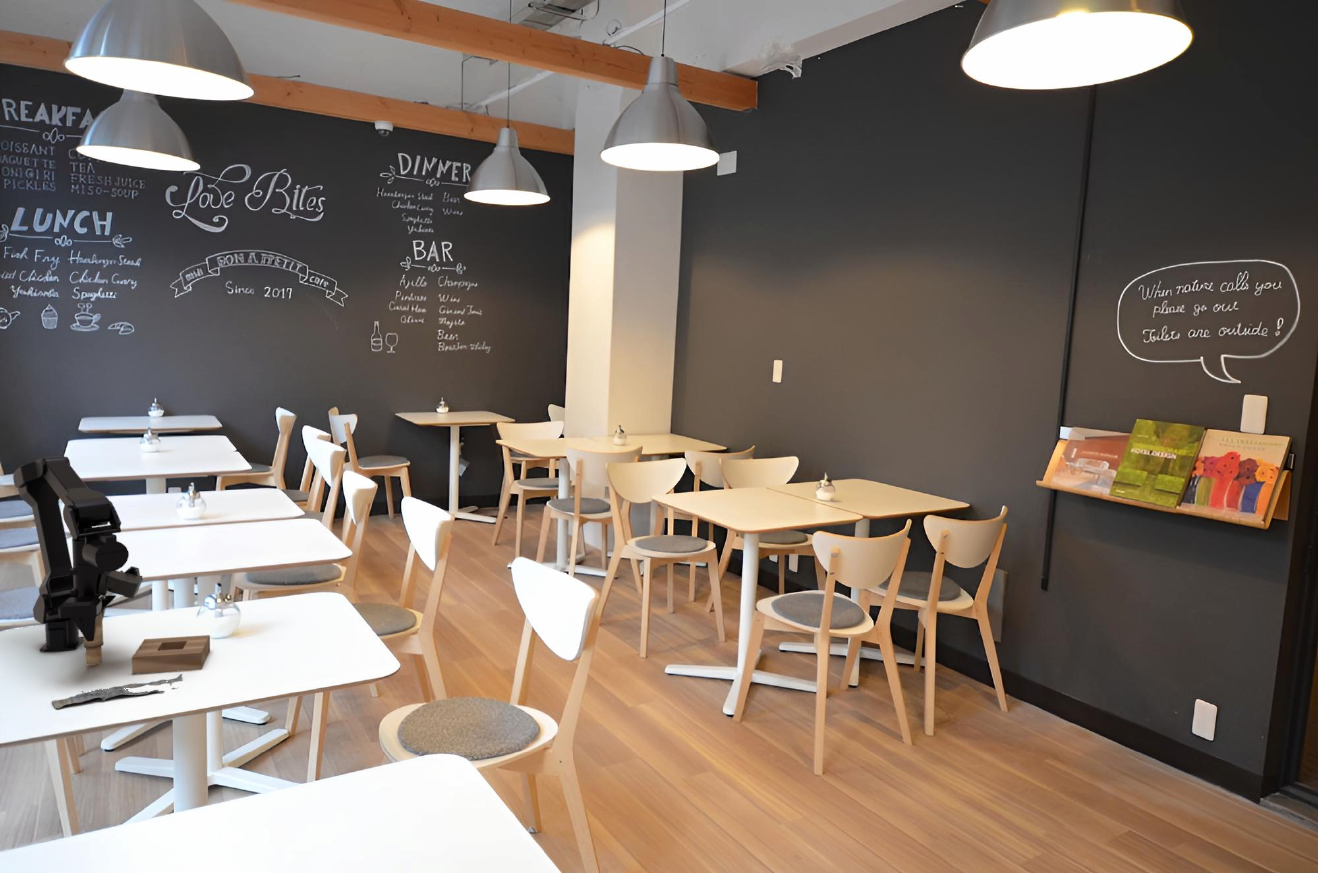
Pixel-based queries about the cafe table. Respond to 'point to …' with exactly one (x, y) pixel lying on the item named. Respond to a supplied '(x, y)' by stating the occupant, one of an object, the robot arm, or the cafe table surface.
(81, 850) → the cafe table surface
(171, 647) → the board
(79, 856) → the cafe table surface
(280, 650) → the cafe table surface
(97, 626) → the peg
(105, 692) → the driftwood
